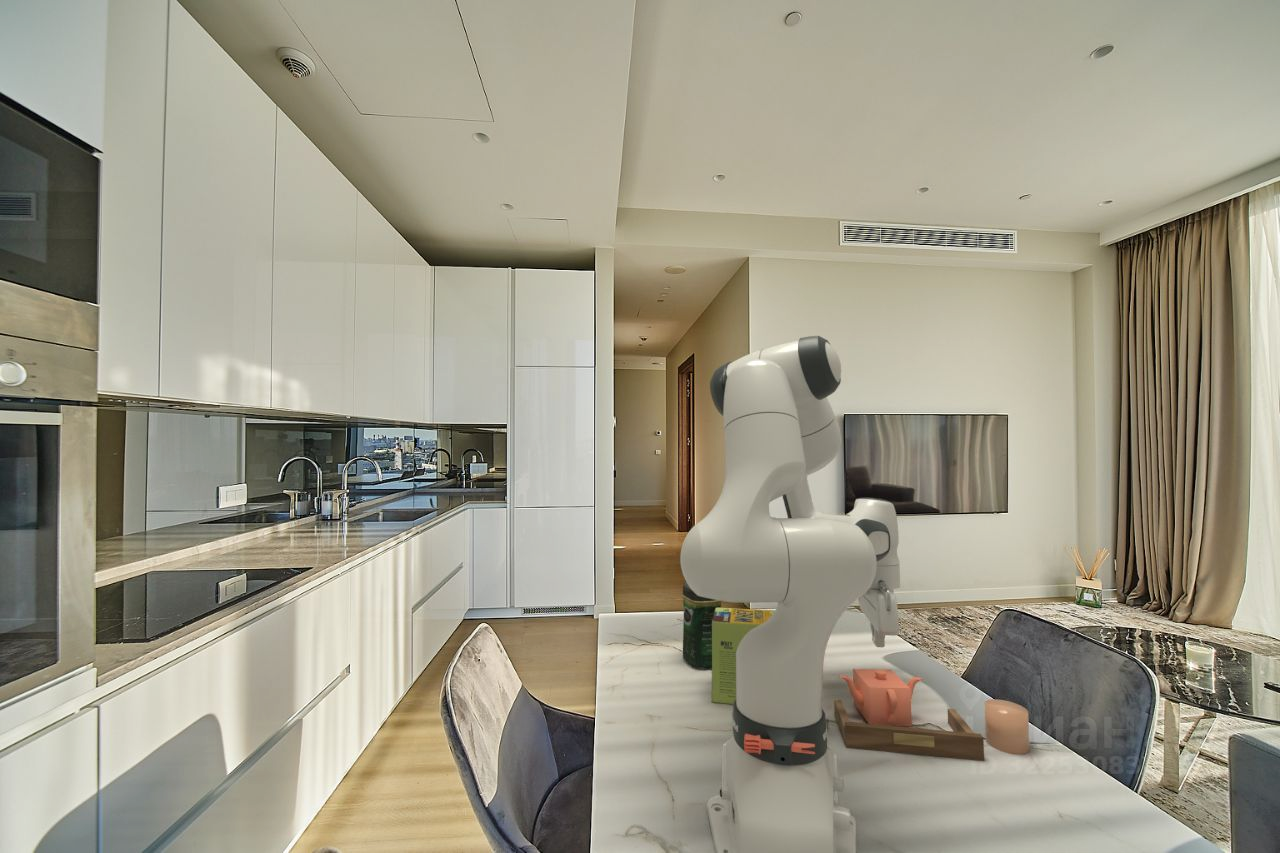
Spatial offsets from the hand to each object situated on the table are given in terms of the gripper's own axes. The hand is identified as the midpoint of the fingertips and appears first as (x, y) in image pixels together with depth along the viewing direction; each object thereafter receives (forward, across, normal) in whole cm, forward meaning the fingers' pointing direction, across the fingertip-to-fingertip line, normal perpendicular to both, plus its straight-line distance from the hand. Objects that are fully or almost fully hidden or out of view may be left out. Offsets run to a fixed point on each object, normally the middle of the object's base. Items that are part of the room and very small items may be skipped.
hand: (878, 645), depth 112 cm
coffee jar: (+8, +6, +37) cm, 38 cm away
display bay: (+9, -19, 0) cm, 21 cm away
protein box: (+9, -8, +26) cm, 28 cm away
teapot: (+9, -13, +2) cm, 16 cm away
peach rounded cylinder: (+9, -19, -16) cm, 26 cm away
